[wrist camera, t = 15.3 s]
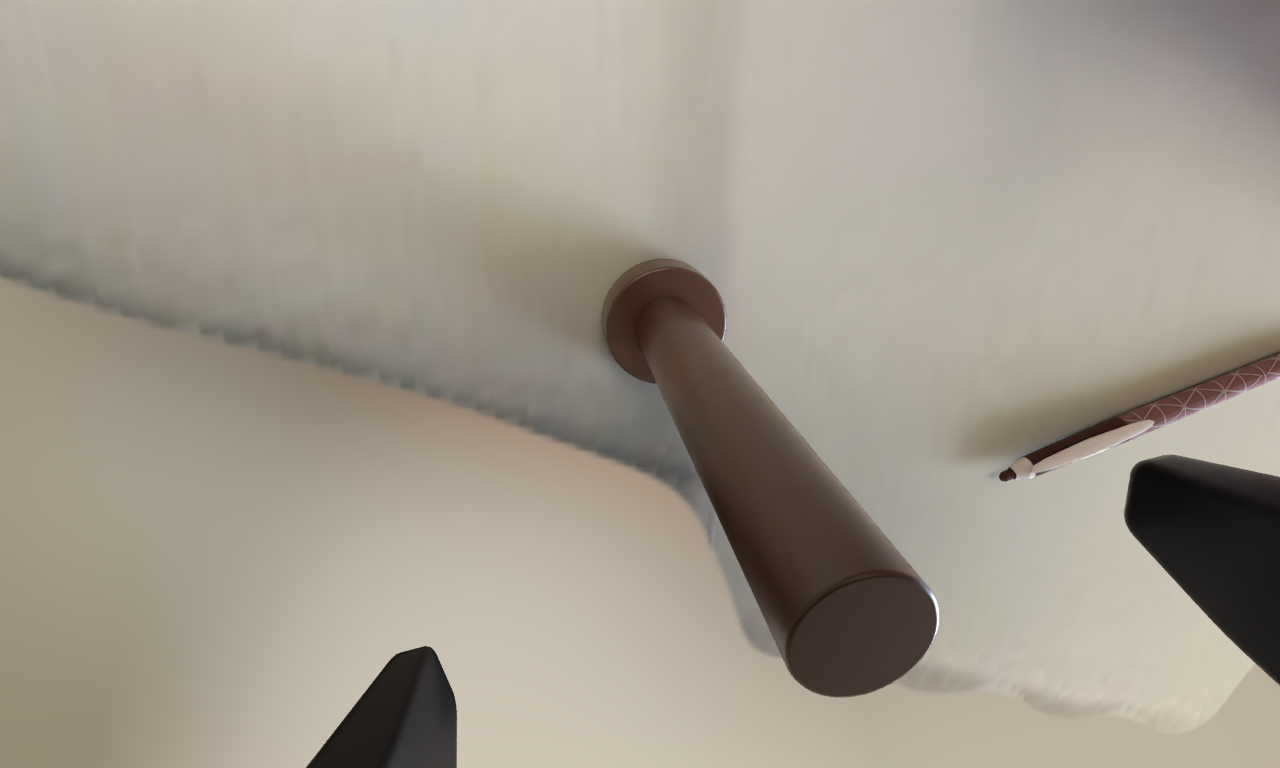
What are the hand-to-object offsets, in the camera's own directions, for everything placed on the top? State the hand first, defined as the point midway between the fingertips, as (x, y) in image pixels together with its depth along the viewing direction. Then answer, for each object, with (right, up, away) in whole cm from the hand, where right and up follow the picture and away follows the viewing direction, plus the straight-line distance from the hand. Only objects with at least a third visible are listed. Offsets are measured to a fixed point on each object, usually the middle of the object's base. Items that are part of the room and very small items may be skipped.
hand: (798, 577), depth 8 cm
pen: (+15, +2, +12) cm, 19 cm away
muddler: (-1, +4, +8) cm, 9 cm away
